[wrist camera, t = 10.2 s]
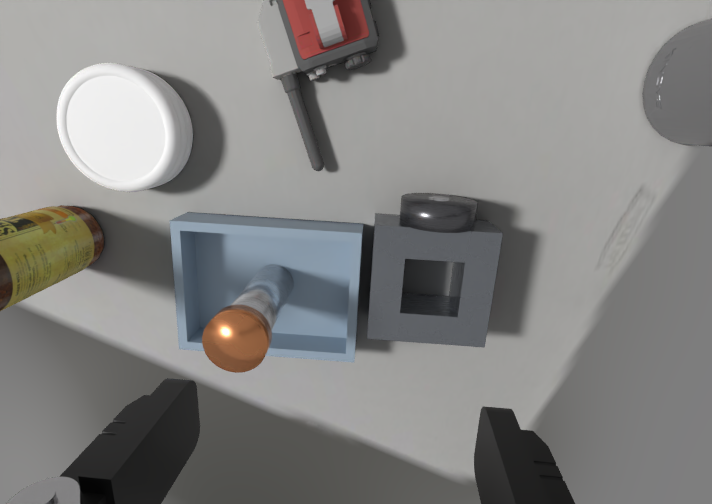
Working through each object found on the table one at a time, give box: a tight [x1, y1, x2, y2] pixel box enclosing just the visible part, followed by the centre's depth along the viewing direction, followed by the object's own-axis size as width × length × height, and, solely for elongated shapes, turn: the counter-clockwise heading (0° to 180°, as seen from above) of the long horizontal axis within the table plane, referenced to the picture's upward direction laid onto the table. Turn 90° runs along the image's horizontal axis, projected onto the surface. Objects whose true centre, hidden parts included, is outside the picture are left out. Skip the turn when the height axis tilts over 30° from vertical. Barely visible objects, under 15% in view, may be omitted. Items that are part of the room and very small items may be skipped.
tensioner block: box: [367, 193, 503, 347], centre depth 36 cm, size 10×12×6 cm
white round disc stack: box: [57, 63, 193, 192], centre depth 35 cm, size 10×10×4 cm
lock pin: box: [202, 264, 294, 372], centre depth 34 cm, size 4×4×12 cm
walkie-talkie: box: [257, 0, 379, 171], centre depth 32 cm, size 9×4×20 cm
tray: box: [170, 212, 363, 362], centre depth 39 cm, size 16×12×4 cm
